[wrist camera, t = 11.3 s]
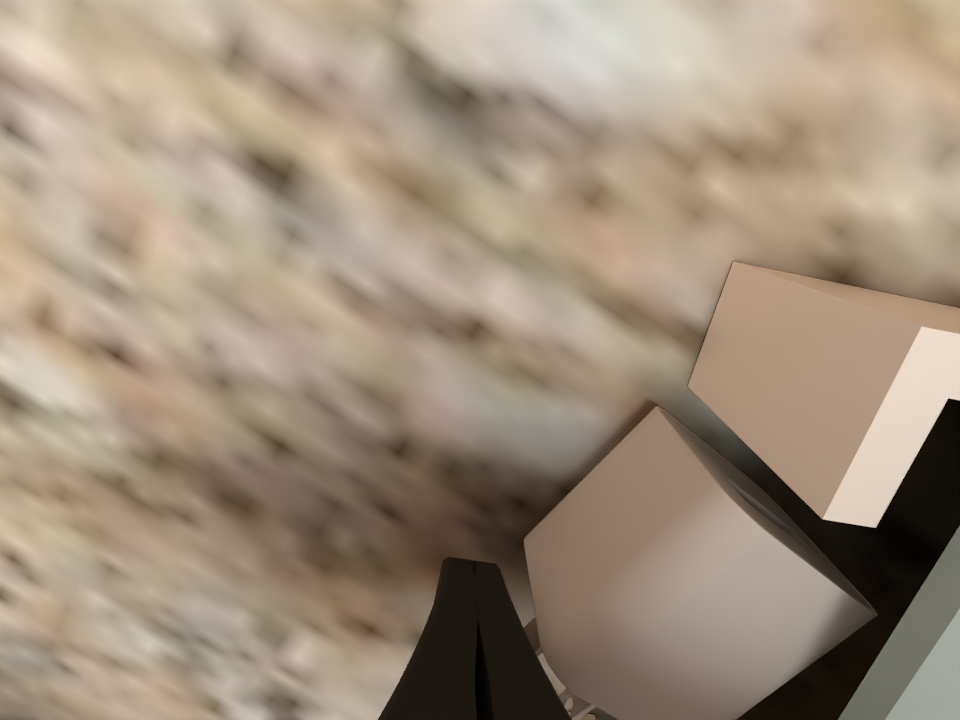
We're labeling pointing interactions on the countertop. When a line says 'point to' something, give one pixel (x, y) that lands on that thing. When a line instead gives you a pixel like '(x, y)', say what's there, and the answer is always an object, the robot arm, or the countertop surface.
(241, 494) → the countertop surface
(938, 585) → the cover
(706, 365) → the c-shaped bracket
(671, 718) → the usb wall charger
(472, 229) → the countertop surface
